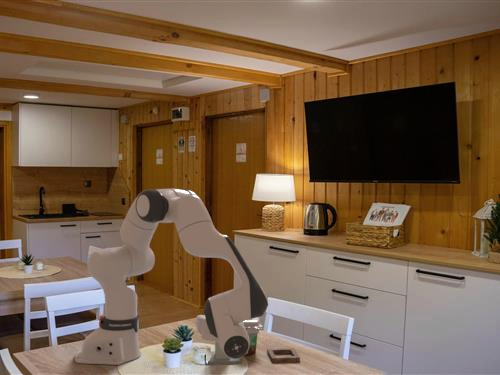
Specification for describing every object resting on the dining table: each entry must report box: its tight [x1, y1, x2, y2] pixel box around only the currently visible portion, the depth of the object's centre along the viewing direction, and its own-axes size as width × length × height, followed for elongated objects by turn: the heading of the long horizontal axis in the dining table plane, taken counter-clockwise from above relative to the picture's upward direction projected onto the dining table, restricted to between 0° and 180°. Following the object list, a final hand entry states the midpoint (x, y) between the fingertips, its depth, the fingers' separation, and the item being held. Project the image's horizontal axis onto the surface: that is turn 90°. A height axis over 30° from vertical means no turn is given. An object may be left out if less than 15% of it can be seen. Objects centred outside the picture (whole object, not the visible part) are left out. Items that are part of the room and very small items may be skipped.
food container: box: [243, 330, 260, 357], centre depth 189 cm, size 12×6×10 cm, turn 168°
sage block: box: [214, 341, 229, 359], centre depth 181 cm, size 5×5×12 cm
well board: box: [266, 347, 301, 363], centre depth 184 cm, size 10×10×2 cm
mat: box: [207, 350, 242, 365], centre depth 181 cm, size 12×10×1 cm
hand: (226, 316), depth 169 cm, fingers open, 8 cm apart
